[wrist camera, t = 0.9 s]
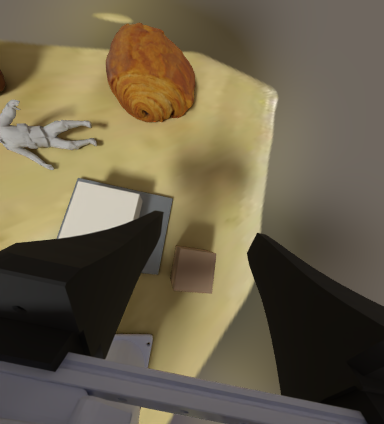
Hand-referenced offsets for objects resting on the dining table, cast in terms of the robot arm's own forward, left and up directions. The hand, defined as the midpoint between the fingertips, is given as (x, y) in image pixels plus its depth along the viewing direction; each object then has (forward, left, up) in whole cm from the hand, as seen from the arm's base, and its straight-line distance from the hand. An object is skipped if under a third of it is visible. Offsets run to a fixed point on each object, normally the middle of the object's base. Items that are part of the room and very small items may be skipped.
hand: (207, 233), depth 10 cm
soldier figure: (+10, +21, -13) cm, 27 cm away
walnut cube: (-4, -2, -13) cm, 14 cm away
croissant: (+26, +9, -13) cm, 30 cm away
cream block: (+1, +10, -12) cm, 16 cm away
